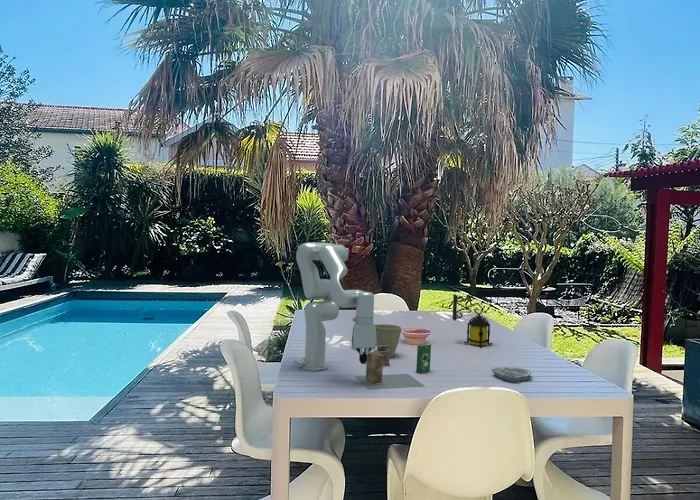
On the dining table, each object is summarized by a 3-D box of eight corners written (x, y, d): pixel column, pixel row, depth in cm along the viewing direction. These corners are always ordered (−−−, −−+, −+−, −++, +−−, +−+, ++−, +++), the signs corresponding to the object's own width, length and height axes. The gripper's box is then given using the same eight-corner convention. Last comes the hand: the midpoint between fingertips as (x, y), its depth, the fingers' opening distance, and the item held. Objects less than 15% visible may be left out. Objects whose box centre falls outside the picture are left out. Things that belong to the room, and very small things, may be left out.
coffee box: (425, 369, 250) (426, 342, 249) (430, 371, 248) (431, 343, 247) (415, 372, 244) (416, 345, 243) (420, 373, 242) (421, 346, 241)
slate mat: (367, 391, 212) (367, 389, 212) (353, 377, 231) (353, 376, 231) (425, 388, 219) (425, 386, 219) (407, 375, 238) (407, 373, 238)
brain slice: (501, 370, 255) (501, 364, 255) (535, 377, 244) (536, 371, 244) (484, 378, 240) (484, 371, 240) (520, 386, 229) (520, 379, 229)
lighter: (375, 366, 252) (375, 346, 252) (372, 364, 255) (373, 344, 255) (390, 366, 254) (391, 346, 254) (388, 364, 258) (389, 344, 257)
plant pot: (398, 360, 266) (400, 330, 265) (370, 358, 269) (371, 327, 268) (401, 354, 280) (402, 325, 280) (374, 351, 283) (375, 323, 283)
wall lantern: (495, 348, 304) (497, 298, 303) (454, 347, 304) (457, 296, 303) (488, 342, 320) (490, 294, 319) (449, 341, 321) (452, 293, 320)
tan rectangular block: (370, 384, 219) (371, 355, 219) (365, 379, 226) (366, 352, 225) (381, 383, 220) (383, 355, 220) (376, 379, 227) (377, 351, 227)
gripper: (350, 322, 215) (348, 366, 216) (383, 322, 219) (382, 364, 220) (345, 319, 222) (343, 361, 223) (378, 319, 226) (376, 360, 227)
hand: (362, 363), depth 221 cm, fingers closed
